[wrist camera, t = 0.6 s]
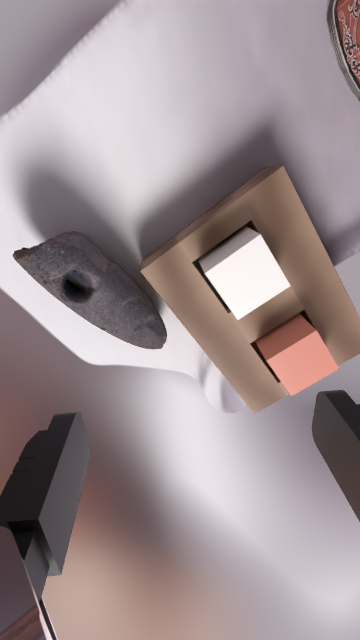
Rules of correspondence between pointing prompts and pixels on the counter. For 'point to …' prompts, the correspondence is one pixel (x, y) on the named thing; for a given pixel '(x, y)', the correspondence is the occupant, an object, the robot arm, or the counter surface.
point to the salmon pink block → (296, 354)
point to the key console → (301, 297)
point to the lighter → (346, 40)
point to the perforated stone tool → (94, 288)
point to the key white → (244, 272)
